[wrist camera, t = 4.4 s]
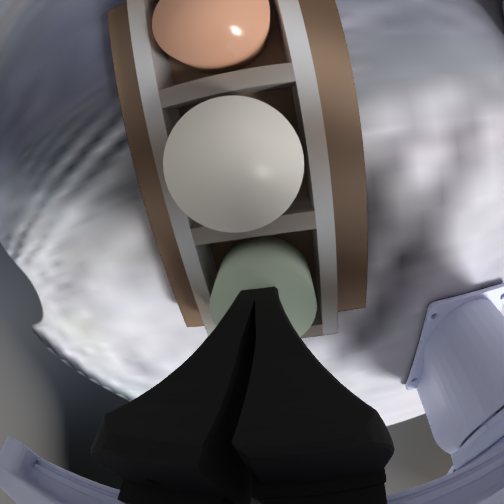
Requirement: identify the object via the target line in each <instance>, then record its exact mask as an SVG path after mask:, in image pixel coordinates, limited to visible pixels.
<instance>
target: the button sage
mask: <svg viewBox="0 0 504 504" xmlns="http://www.w3.org/2000/svg"><path fill="white" fill-rule="evenodd" d="M274 286H275V287H276V288H277V289H278V293H279V298H280V301H281V304H282V306H283V309H284V311H285V313H286V315H287V316H288V318H289V320H290V322H291V324H292V326H293V327H294V329H295V330H296V332H297V333H298V335H299V337H301V336H302V335H303V334H304V333H305V332H306V331H307V330H308V329H309V328H310V326H311V325H312V323H313V321H314V319H315V316H316V311H317V302H316V296H315V292H314V287H313V283H312V278H311V274H310V269H309V266H308V263H307V261H306V259H305V257H304V255H303V254H302V253H301V252H300V251H299V250H298V249H297V248H296V247H295V246H294V245H292V244H291V243H289V242H287V241H285V240H282V239H279V238H276V237H269V236H260V237H253V238H249V239H246V240H243V241H241V242H239V243H238V244H236V245H235V246H233V247H232V248H231V249H230V250H229V251H228V252H227V253H226V255H225V256H224V258H223V260H222V262H221V265H220V268H219V271H218V274H217V277H216V281H215V284H214V287H213V290H212V293H211V297H210V304H209V306H210V313H211V317H212V319H213V321H214V323H215V325H216V326H217V325H218V323H219V322H220V320H221V319H222V318H223V316H224V315H225V314H226V312H227V311H228V309H229V308H230V306H231V304H232V303H233V301H234V300H235V298H236V297H237V295H238V294H239V292H240V291H241V290H249V289H257V288H266V287H274Z"/></svg>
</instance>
